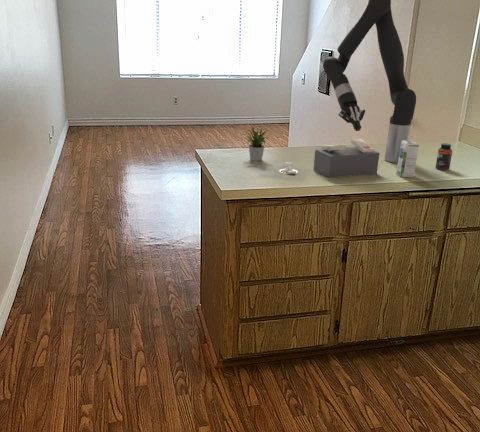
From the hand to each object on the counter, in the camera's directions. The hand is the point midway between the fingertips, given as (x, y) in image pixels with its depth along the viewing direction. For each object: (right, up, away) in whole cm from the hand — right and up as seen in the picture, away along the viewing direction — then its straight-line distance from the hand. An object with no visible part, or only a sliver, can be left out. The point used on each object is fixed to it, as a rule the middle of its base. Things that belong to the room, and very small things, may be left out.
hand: (358, 130), depth 224 cm
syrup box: (+19, -20, -1) cm, 28 cm away
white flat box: (+1, -7, -1) cm, 7 cm away
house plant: (-45, -11, +14) cm, 48 cm away
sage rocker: (-12, -9, -6) cm, 16 cm away
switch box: (-6, -18, 0) cm, 19 cm away
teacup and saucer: (-32, -19, -4) cm, 38 cm away
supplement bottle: (+40, -16, +11) cm, 44 cm away
